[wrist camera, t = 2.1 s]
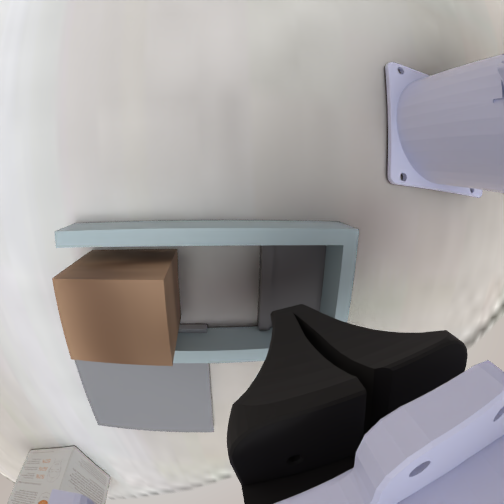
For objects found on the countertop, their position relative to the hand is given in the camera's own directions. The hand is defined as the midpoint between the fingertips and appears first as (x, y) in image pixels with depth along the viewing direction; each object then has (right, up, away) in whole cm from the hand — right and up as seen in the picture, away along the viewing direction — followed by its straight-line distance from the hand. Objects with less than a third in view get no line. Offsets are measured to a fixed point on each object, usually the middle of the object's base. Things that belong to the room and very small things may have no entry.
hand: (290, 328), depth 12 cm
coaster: (-9, -5, +6) cm, 12 cm away
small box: (-20, -18, +8) cm, 28 cm away
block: (-8, +1, +4) cm, 9 cm away
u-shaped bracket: (-4, +1, +5) cm, 6 cm away
